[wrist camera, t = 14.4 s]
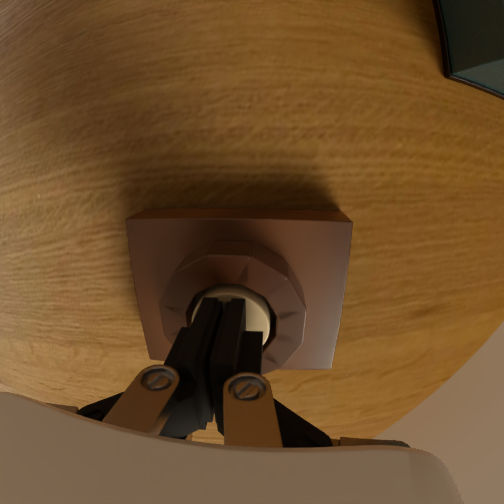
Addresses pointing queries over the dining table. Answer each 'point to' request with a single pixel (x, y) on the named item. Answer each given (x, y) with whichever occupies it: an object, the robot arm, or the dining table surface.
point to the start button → (254, 305)
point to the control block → (244, 274)
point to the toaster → (473, 42)
